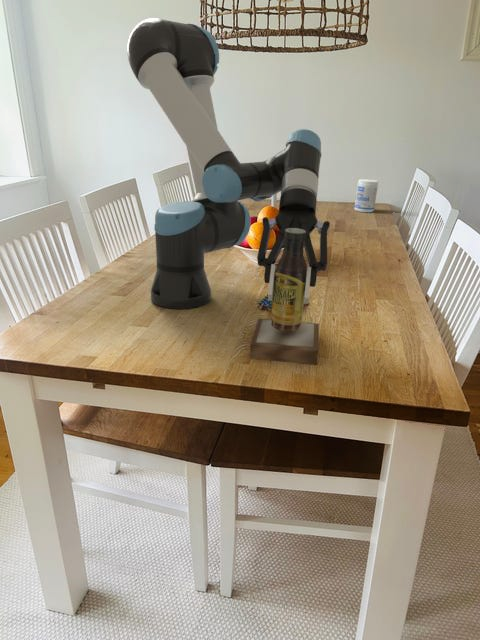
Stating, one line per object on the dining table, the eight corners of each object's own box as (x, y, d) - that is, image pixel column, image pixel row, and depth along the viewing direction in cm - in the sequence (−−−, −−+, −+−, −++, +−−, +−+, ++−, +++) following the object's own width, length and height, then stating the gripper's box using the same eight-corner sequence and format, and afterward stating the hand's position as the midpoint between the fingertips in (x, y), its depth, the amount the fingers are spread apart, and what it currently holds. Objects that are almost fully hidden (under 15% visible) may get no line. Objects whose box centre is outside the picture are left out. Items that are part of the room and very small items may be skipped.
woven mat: (298, 318, 116) (299, 310, 115) (256, 311, 119) (256, 303, 118) (309, 304, 125) (310, 296, 124) (270, 297, 128) (270, 290, 127)
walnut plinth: (249, 358, 95) (250, 343, 94) (257, 330, 107) (258, 317, 106) (316, 364, 94) (318, 349, 93) (317, 336, 106) (318, 322, 104)
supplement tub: (352, 211, 239) (356, 180, 233) (355, 208, 247) (359, 178, 241) (373, 213, 236) (377, 182, 230) (375, 210, 244) (379, 179, 238)
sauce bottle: (264, 327, 98) (268, 229, 90) (281, 318, 103) (287, 224, 95) (292, 336, 95) (299, 235, 87) (308, 326, 99) (316, 229, 91)
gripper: (343, 210, 103) (337, 311, 95) (253, 205, 106) (239, 302, 97) (347, 188, 96) (341, 295, 88) (251, 183, 99) (236, 286, 90)
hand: (288, 299), depth 93 cm, fingers closed on sauce bottle, 6 cm apart
